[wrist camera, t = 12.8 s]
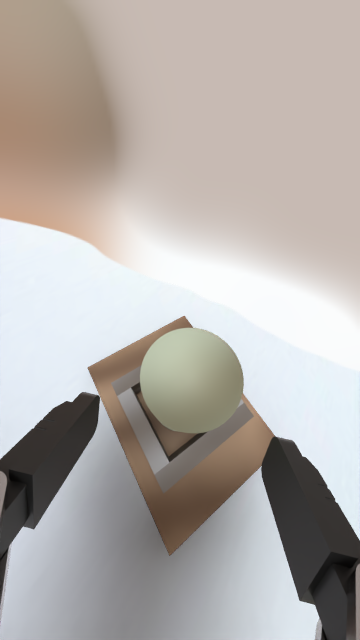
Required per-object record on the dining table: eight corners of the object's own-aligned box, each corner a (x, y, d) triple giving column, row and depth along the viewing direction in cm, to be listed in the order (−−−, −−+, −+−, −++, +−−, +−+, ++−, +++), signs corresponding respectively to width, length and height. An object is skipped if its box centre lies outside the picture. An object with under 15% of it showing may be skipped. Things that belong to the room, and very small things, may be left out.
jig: (91, 370, 21) (73, 356, 17) (183, 320, 25) (186, 298, 21) (169, 547, 15) (170, 592, 11) (275, 444, 19) (306, 448, 15)
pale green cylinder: (146, 397, 19) (122, 357, 8) (184, 373, 20) (202, 313, 10) (170, 442, 17) (176, 461, 7) (210, 412, 18) (265, 390, 8)
